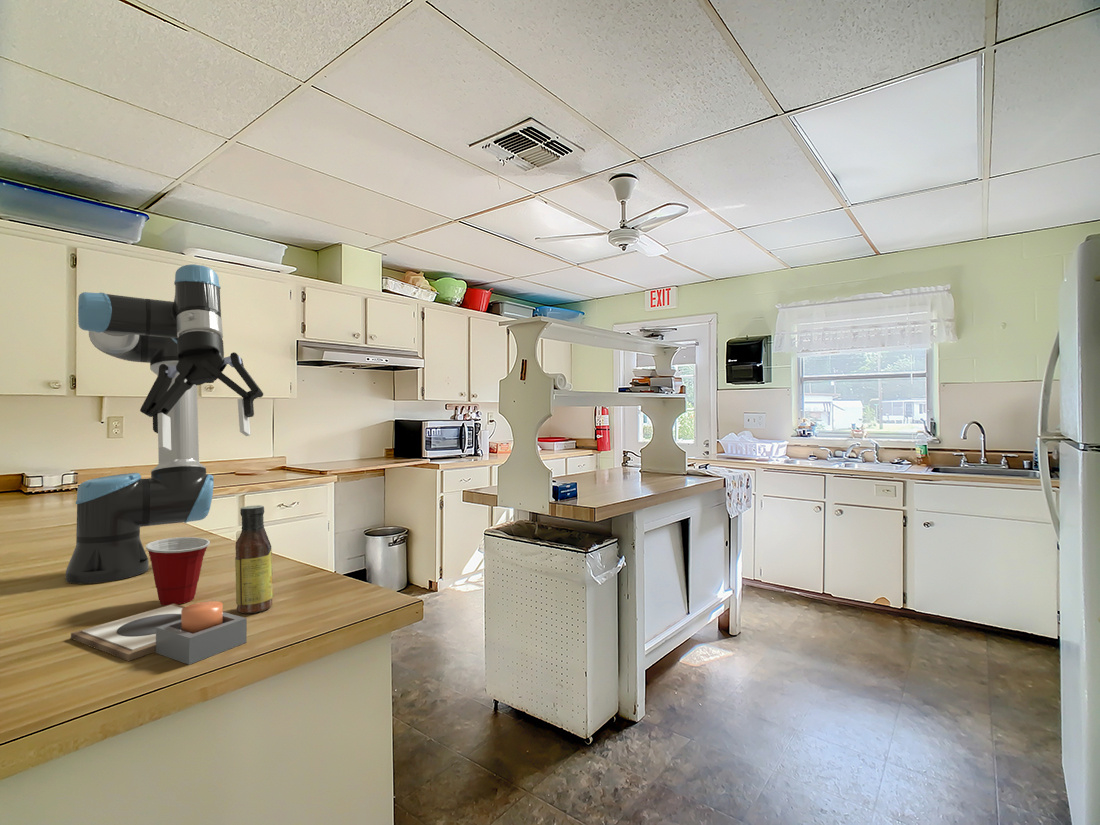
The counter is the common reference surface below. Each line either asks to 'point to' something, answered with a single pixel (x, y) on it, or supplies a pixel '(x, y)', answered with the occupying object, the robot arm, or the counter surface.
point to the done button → (201, 616)
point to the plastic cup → (177, 567)
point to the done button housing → (200, 639)
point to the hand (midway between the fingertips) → (205, 441)
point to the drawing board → (129, 632)
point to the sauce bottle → (253, 563)
